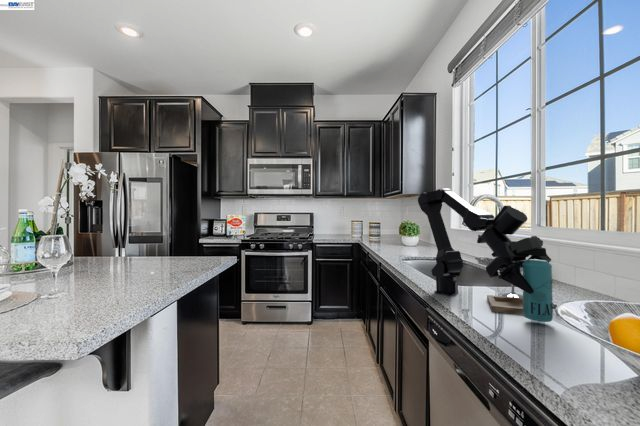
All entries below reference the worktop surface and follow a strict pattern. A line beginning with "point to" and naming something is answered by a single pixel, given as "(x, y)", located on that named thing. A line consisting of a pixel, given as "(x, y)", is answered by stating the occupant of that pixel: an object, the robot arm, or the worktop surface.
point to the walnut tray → (505, 304)
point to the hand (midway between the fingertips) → (541, 291)
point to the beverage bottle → (538, 287)
